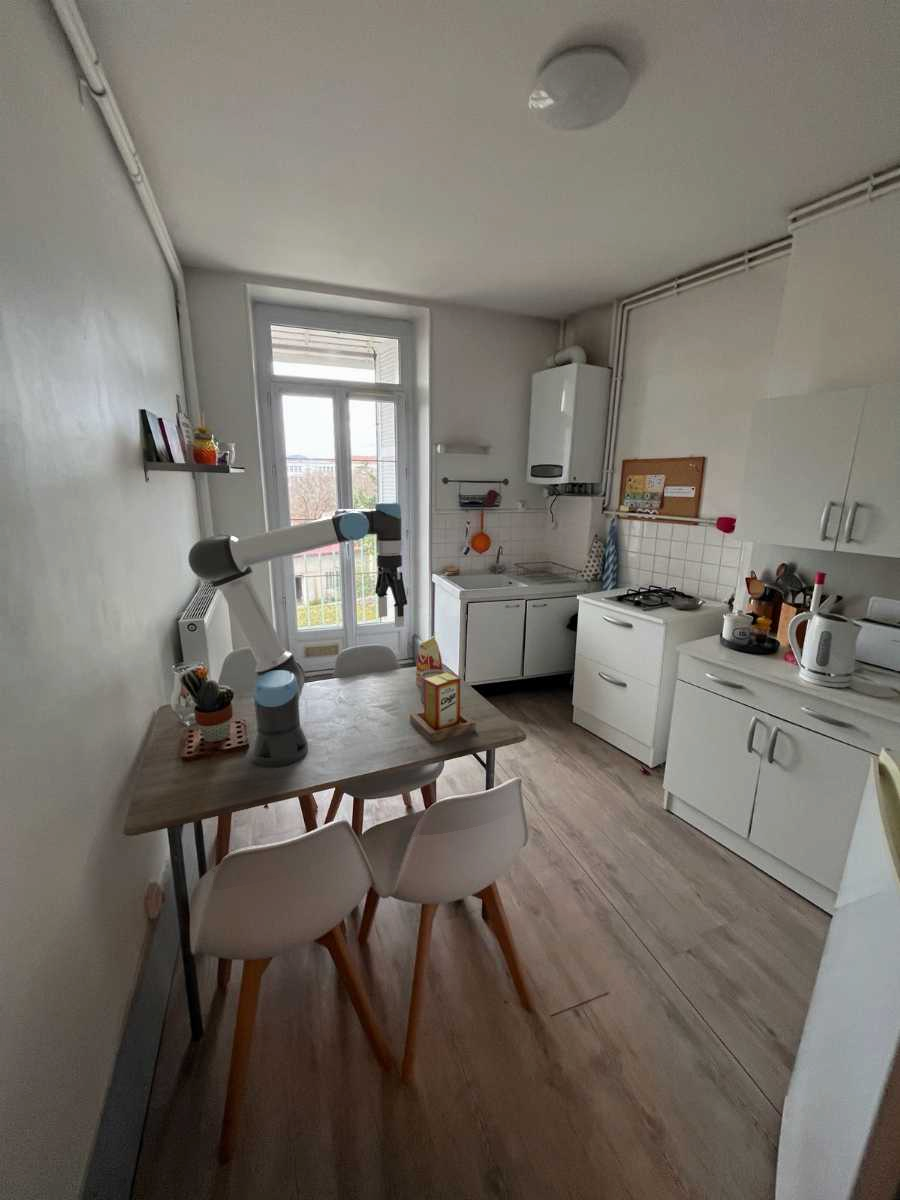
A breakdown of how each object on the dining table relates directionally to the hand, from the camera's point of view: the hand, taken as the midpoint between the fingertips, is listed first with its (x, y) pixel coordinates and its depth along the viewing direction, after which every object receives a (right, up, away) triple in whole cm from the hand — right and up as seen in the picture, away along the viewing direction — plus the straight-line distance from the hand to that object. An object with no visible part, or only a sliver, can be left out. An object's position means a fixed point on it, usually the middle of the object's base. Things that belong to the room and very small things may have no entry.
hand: (390, 621), depth 152 cm
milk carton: (+11, -27, +39) cm, 49 cm away
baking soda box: (+16, -34, +5) cm, 38 cm away
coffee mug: (+14, -30, +27) cm, 42 cm away
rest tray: (+16, -34, +5) cm, 38 cm away
